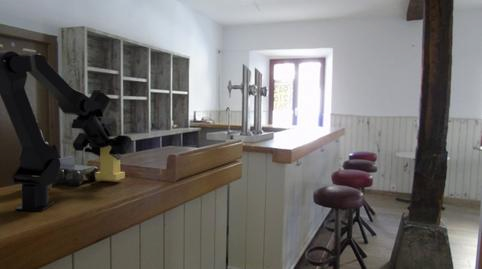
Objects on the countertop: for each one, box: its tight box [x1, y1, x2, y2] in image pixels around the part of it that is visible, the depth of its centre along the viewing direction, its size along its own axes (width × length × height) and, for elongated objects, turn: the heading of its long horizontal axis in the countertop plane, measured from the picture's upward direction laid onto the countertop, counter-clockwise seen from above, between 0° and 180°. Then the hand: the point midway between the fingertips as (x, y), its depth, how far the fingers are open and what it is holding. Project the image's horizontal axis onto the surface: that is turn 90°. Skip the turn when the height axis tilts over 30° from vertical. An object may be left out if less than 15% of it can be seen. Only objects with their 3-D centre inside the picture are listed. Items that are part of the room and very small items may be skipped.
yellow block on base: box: [95, 146, 126, 181], centre depth 118 cm, size 5×8×12 cm, turn 76°
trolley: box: [54, 155, 100, 187], centre depth 116 cm, size 10×11×8 cm
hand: (112, 158), depth 119 cm, fingers closed on yellow block on base, 5 cm apart
